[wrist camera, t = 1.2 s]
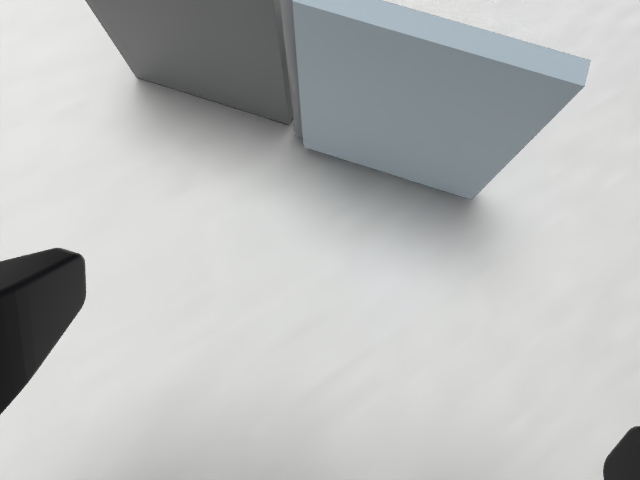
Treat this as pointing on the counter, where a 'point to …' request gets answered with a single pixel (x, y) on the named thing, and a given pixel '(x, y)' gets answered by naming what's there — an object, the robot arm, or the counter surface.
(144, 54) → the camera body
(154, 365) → the counter surface
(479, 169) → the side door
